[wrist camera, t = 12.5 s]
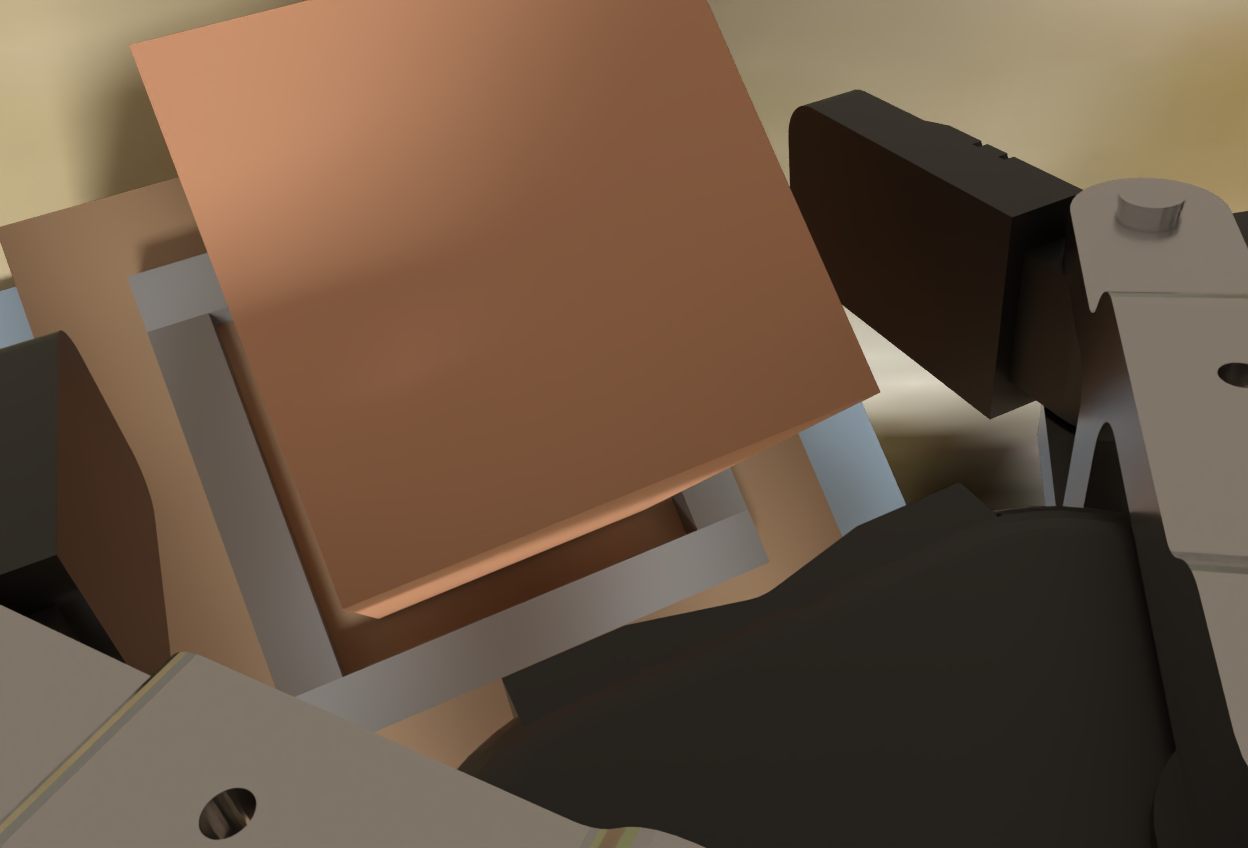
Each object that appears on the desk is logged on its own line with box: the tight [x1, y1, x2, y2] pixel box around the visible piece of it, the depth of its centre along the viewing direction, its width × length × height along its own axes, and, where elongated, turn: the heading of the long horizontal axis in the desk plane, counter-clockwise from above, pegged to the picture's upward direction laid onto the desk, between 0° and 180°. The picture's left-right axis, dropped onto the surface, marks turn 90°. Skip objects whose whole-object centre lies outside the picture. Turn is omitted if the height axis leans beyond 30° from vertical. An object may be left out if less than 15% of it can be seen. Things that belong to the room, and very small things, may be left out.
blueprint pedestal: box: [0, 177, 906, 769], centre depth 21 cm, size 20×14×6 cm
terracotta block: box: [129, 0, 880, 619], centre depth 14 cm, size 5×5×10 cm
